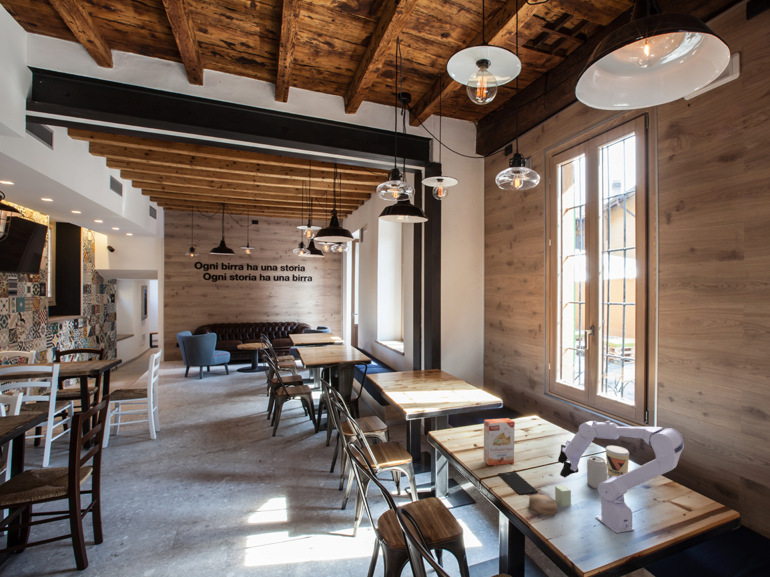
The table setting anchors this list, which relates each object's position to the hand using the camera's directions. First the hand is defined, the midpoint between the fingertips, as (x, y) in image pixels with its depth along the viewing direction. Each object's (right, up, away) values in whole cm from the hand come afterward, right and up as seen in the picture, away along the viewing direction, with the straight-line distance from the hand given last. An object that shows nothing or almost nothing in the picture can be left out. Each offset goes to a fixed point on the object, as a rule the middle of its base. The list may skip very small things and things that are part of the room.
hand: (561, 468), depth 151 cm
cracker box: (-16, -13, +32) cm, 38 cm away
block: (-1, -12, -4) cm, 13 cm away
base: (-11, -12, -7) cm, 18 cm away
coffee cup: (+35, -13, +19) cm, 42 cm away
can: (+20, -13, +10) cm, 26 cm away
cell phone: (-14, -13, +12) cm, 22 cm away
